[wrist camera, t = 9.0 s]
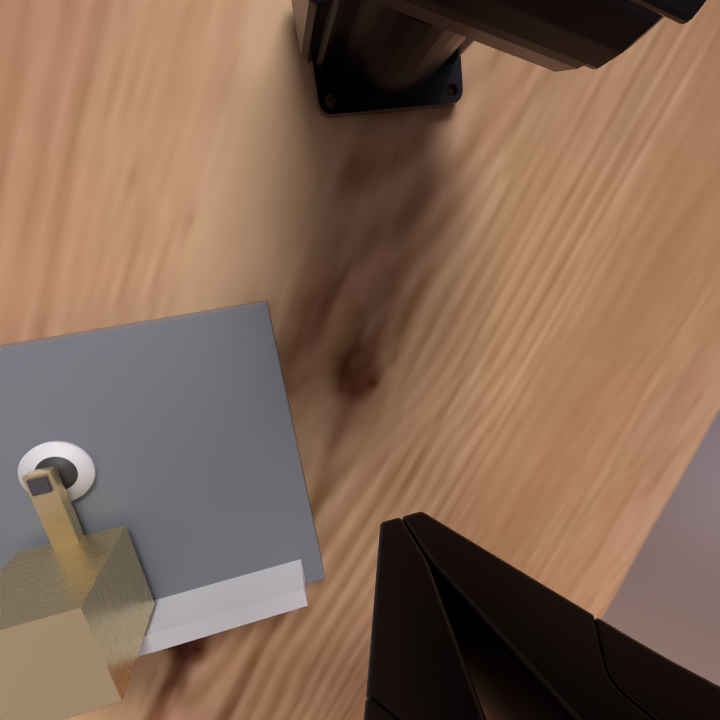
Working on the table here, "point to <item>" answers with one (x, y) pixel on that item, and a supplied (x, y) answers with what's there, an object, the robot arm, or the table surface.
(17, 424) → the hole plate
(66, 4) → the table surface
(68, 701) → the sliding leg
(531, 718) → the robot arm
